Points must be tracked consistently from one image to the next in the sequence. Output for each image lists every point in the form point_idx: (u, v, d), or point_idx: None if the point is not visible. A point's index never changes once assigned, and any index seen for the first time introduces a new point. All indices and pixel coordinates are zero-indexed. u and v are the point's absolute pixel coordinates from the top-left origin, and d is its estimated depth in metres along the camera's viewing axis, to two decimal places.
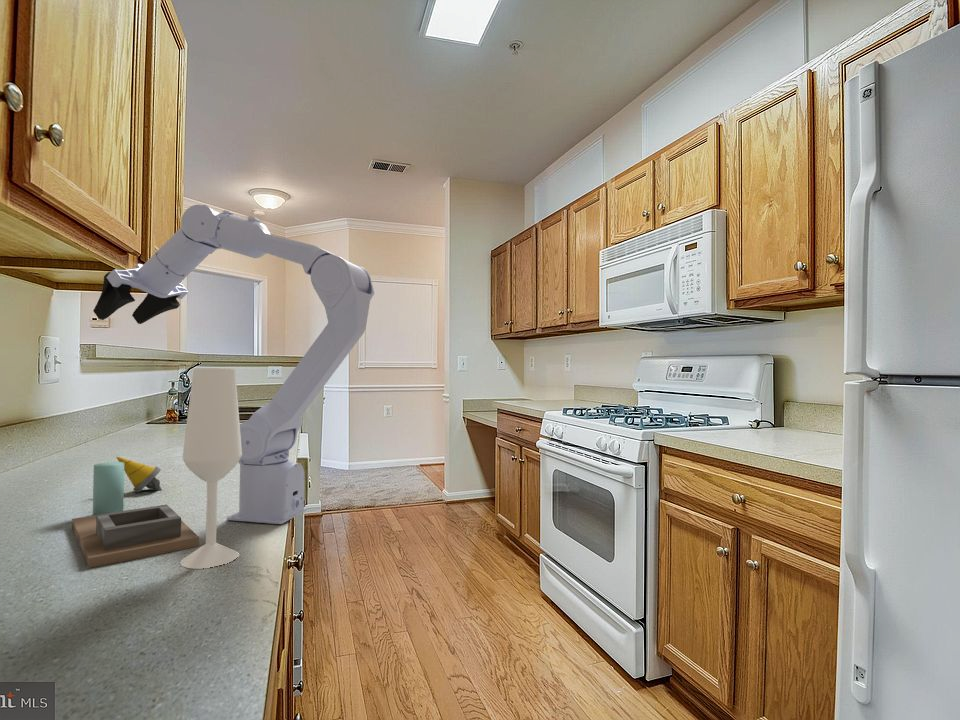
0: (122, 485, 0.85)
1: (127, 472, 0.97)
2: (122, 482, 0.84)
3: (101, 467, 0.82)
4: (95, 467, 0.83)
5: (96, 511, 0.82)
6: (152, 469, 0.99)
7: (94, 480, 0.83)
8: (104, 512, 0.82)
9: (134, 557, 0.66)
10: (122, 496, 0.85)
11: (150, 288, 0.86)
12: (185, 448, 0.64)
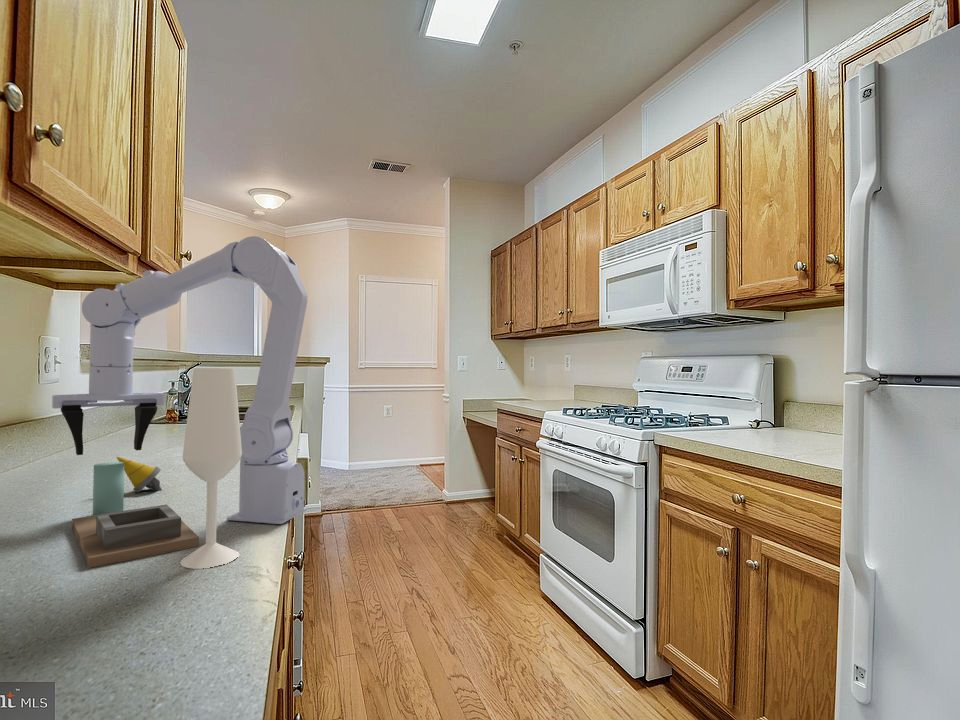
0: (122, 485, 0.85)
1: (127, 472, 0.97)
2: (122, 482, 0.84)
3: (101, 467, 0.82)
4: (95, 467, 0.83)
5: (96, 511, 0.82)
6: (152, 469, 0.99)
7: (94, 480, 0.83)
8: (104, 512, 0.82)
9: (134, 557, 0.66)
10: (122, 496, 0.85)
11: (94, 395, 0.81)
12: (185, 448, 0.64)
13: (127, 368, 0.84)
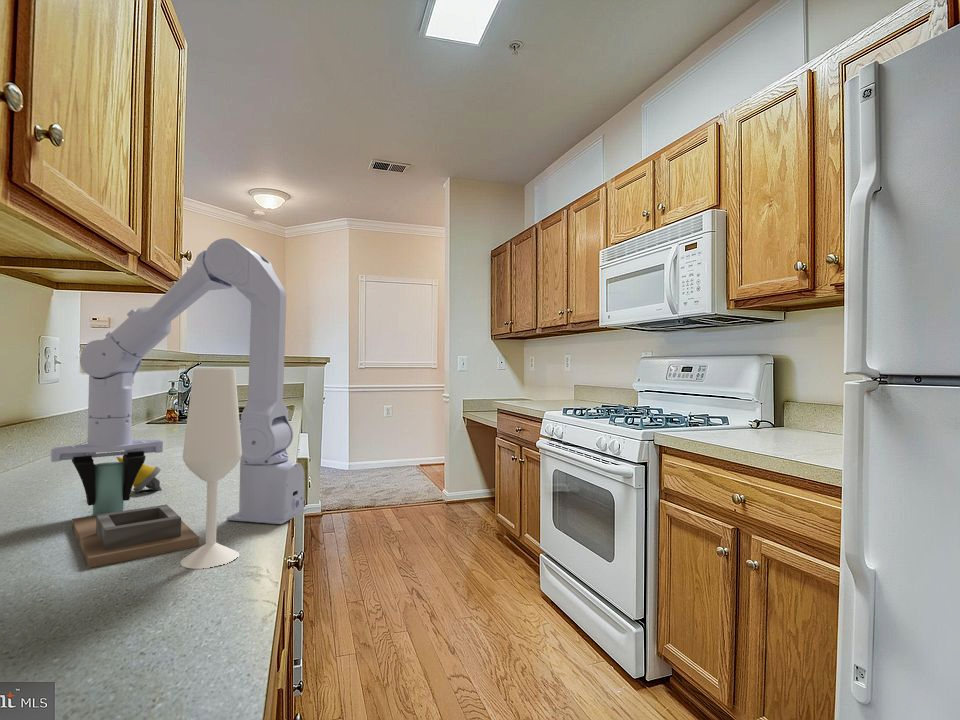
0: (122, 485, 0.85)
1: None
2: (122, 482, 0.84)
3: (101, 467, 0.82)
4: (95, 467, 0.83)
5: (96, 511, 0.82)
6: (152, 469, 0.99)
7: (94, 480, 0.83)
8: (104, 512, 0.82)
9: (134, 557, 0.66)
10: (122, 496, 0.85)
11: (93, 447, 0.81)
12: (185, 448, 0.64)
13: (126, 418, 0.84)
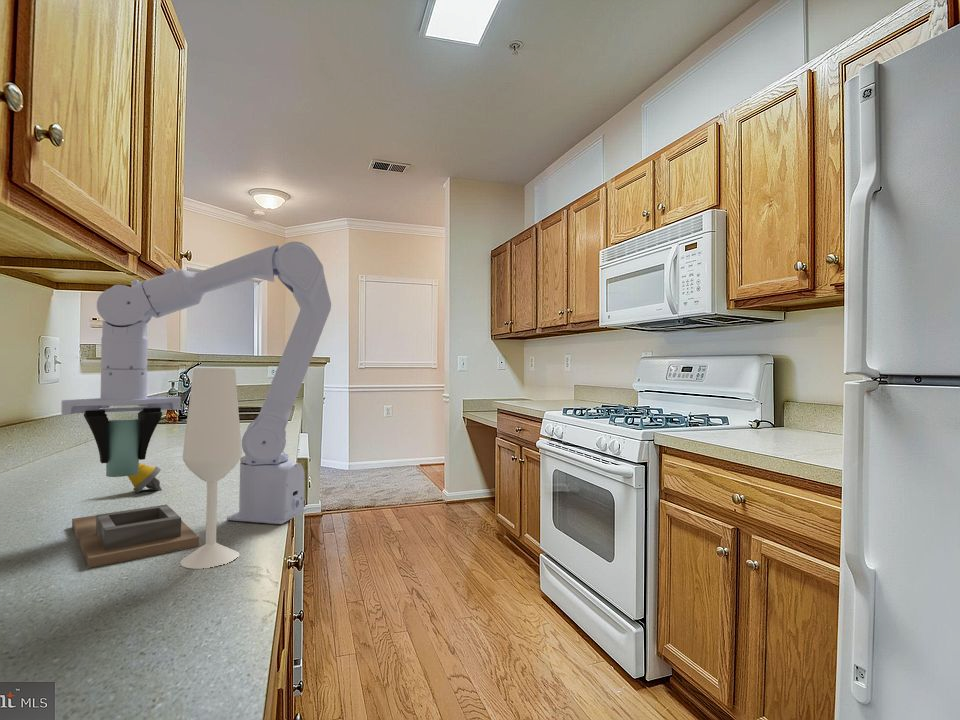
0: (137, 443, 0.79)
1: None
2: (137, 439, 0.79)
3: (115, 422, 0.77)
4: (108, 422, 0.77)
5: (110, 469, 0.77)
6: (152, 469, 0.99)
7: (107, 436, 0.77)
8: (118, 470, 0.77)
9: (134, 557, 0.66)
10: (137, 455, 0.79)
11: (107, 399, 0.75)
12: (185, 448, 0.64)
13: (141, 370, 0.78)
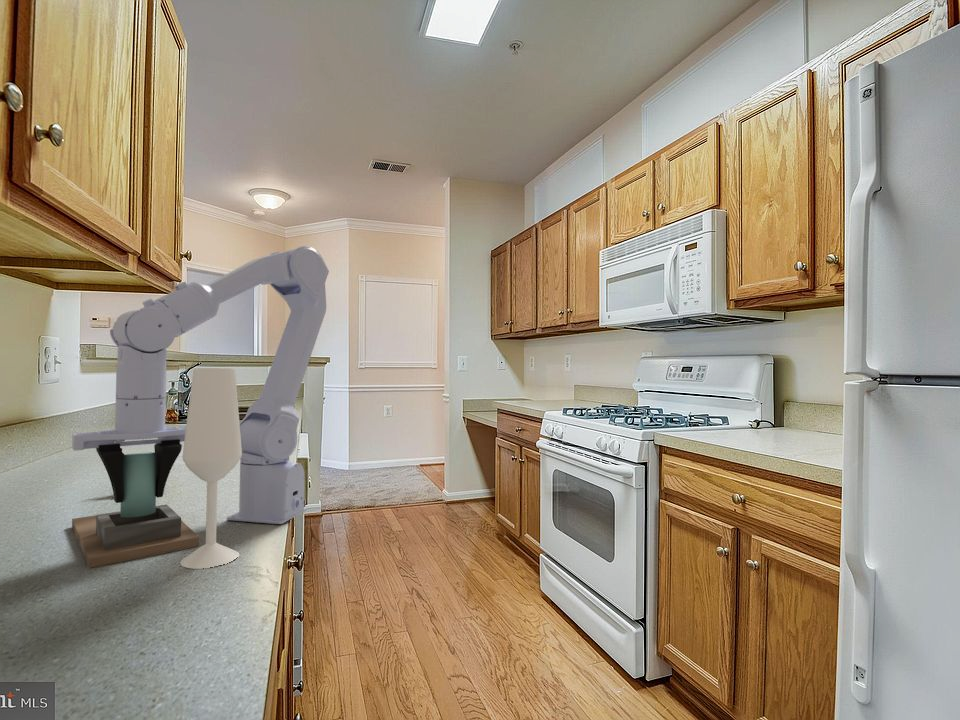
0: (154, 479, 0.72)
1: None
2: (154, 475, 0.72)
3: (130, 457, 0.70)
4: None
5: (125, 509, 0.70)
6: None
7: None
8: (134, 510, 0.70)
9: (134, 557, 0.66)
10: (154, 492, 0.72)
11: (122, 433, 0.68)
12: (185, 448, 0.64)
13: (160, 400, 0.71)
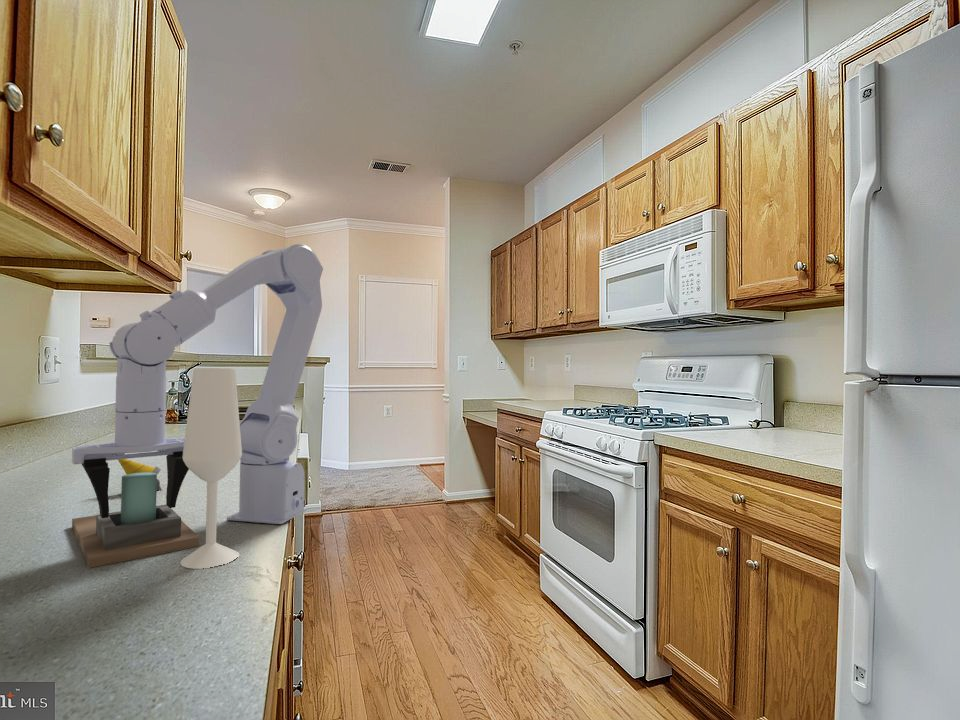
0: (154, 500, 0.72)
1: (127, 472, 0.97)
2: (154, 497, 0.72)
3: (131, 479, 0.70)
4: (124, 479, 0.70)
5: None
6: (152, 469, 0.99)
7: (122, 494, 0.70)
8: None
9: (134, 557, 0.66)
10: (154, 513, 0.72)
11: (122, 446, 0.68)
12: (185, 448, 0.64)
13: (159, 412, 0.71)
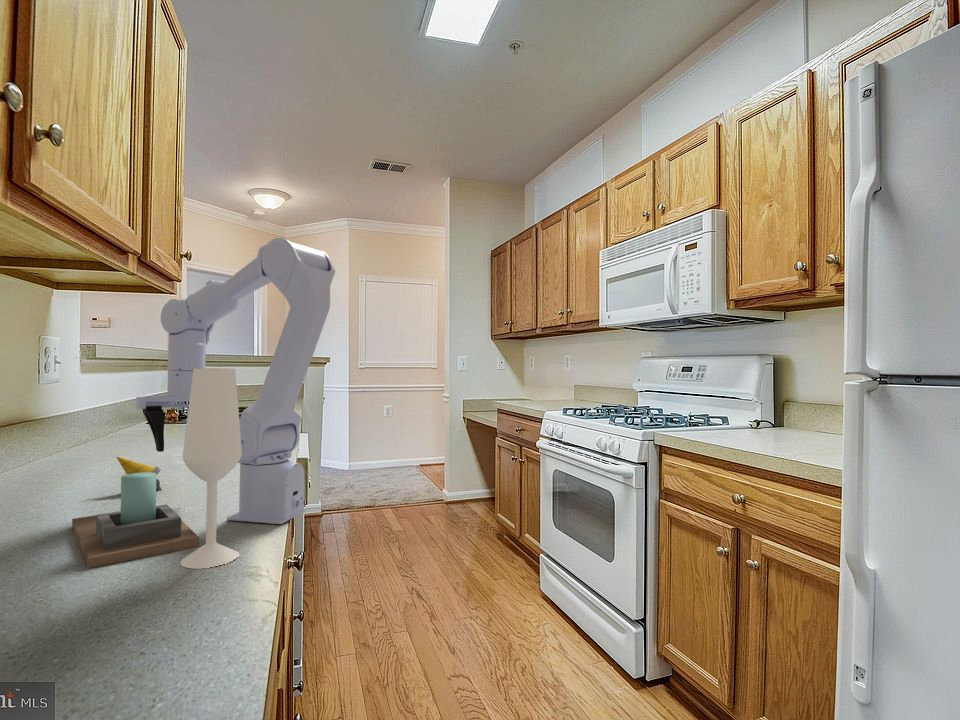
0: (154, 500, 0.72)
1: (127, 472, 0.97)
2: (154, 496, 0.72)
3: (130, 479, 0.70)
4: (123, 479, 0.70)
5: None
6: (152, 469, 0.99)
7: (122, 494, 0.70)
8: None
9: (134, 557, 0.66)
10: (154, 513, 0.72)
11: (174, 396, 0.89)
12: (185, 448, 0.64)
13: None
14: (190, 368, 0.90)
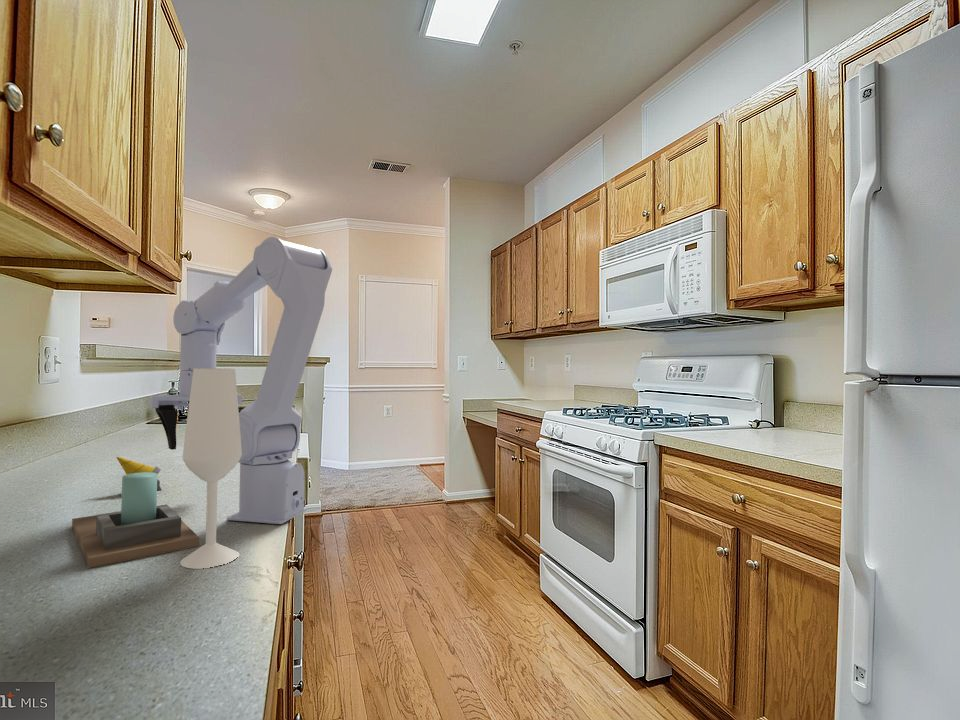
0: (155, 501, 0.72)
1: (127, 472, 0.97)
2: (154, 497, 0.72)
3: (131, 479, 0.69)
4: (124, 479, 0.70)
5: None
6: (152, 469, 0.99)
7: (123, 494, 0.70)
8: None
9: (134, 557, 0.66)
10: (155, 513, 0.72)
11: (186, 396, 0.91)
12: (185, 448, 0.64)
13: None
14: None
